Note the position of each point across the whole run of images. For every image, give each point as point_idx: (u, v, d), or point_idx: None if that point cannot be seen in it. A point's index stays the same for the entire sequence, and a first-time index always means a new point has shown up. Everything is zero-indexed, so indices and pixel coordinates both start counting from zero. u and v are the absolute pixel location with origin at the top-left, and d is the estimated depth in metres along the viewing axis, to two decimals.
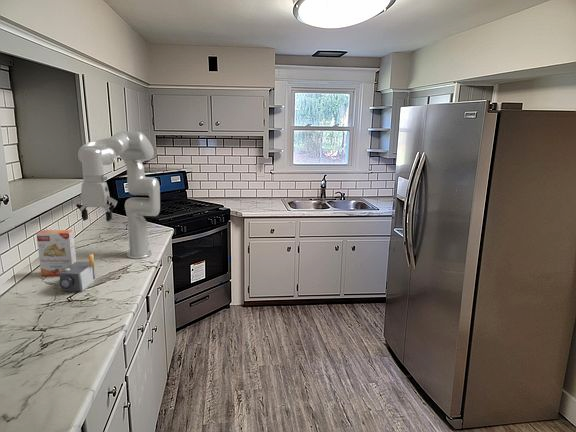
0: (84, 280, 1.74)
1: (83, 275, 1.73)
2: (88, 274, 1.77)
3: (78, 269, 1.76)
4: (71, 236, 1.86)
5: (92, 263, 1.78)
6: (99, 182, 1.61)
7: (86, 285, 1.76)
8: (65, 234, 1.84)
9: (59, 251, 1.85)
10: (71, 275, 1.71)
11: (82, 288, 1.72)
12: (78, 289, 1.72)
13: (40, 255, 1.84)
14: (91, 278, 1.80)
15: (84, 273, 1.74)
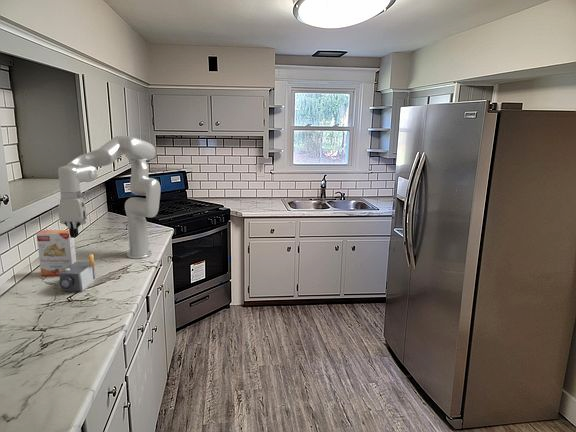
0: (84, 280, 1.74)
1: (83, 275, 1.73)
2: (88, 274, 1.77)
3: (78, 269, 1.76)
4: None
5: (92, 263, 1.78)
6: (75, 198, 1.70)
7: (86, 285, 1.76)
8: (65, 234, 1.84)
9: (59, 251, 1.85)
10: (71, 275, 1.71)
11: (82, 288, 1.72)
12: (78, 289, 1.72)
13: (40, 255, 1.84)
14: (91, 278, 1.80)
15: (84, 273, 1.74)
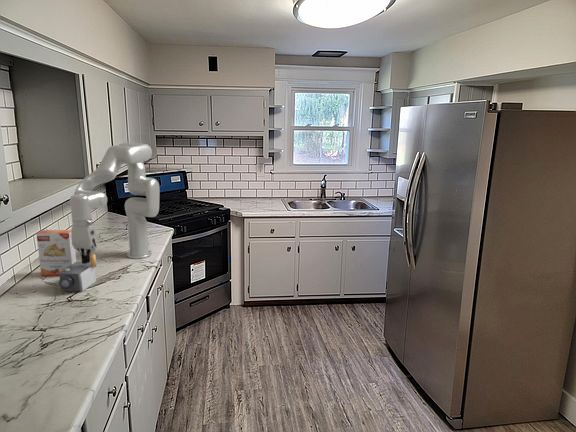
0: (85, 280, 1.74)
1: (84, 275, 1.73)
2: (89, 274, 1.77)
3: (78, 269, 1.76)
4: None
5: (94, 263, 1.78)
6: (85, 226, 1.72)
7: (87, 285, 1.76)
8: (65, 234, 1.84)
9: (59, 251, 1.85)
10: (71, 275, 1.71)
11: (82, 288, 1.72)
12: (78, 289, 1.72)
13: (40, 255, 1.84)
14: (93, 278, 1.80)
15: (85, 273, 1.74)
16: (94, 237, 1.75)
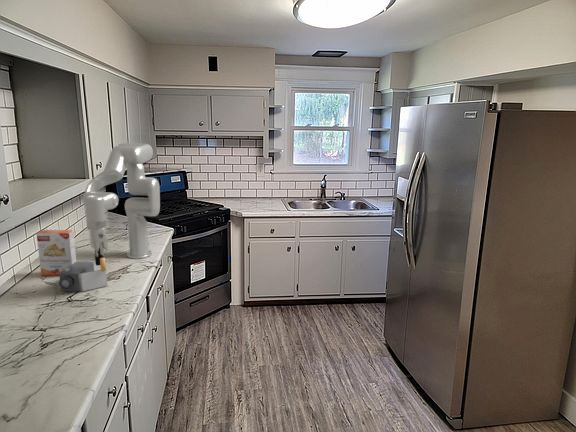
0: (87, 281, 1.73)
1: (86, 276, 1.72)
2: (96, 277, 1.75)
3: (78, 269, 1.76)
4: (71, 236, 1.86)
5: (102, 267, 1.74)
6: (93, 228, 1.69)
7: (91, 287, 1.74)
8: (65, 234, 1.84)
9: (59, 251, 1.85)
10: (71, 275, 1.71)
11: (82, 289, 1.72)
12: (78, 289, 1.72)
13: (40, 255, 1.84)
14: (102, 281, 1.77)
15: (88, 275, 1.72)
16: (103, 240, 1.71)
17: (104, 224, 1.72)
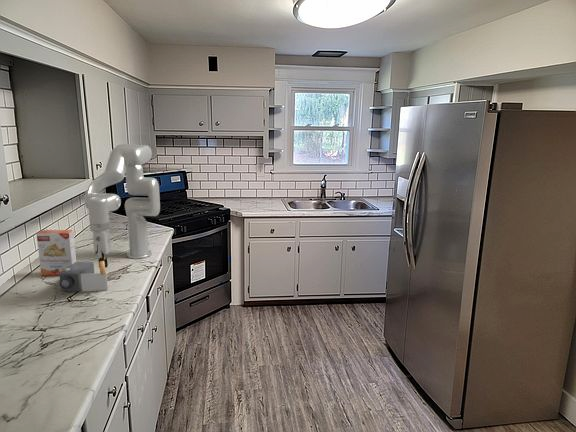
0: (87, 283, 1.71)
1: (85, 277, 1.71)
2: (96, 279, 1.72)
3: (78, 269, 1.76)
4: (71, 236, 1.86)
5: (100, 270, 1.70)
6: (93, 230, 1.67)
7: (91, 289, 1.72)
8: (65, 234, 1.84)
9: (59, 251, 1.85)
10: (71, 275, 1.71)
11: (82, 289, 1.72)
12: (78, 289, 1.72)
13: (40, 255, 1.84)
14: (102, 285, 1.73)
15: (88, 276, 1.71)
16: (100, 244, 1.67)
17: (104, 227, 1.68)
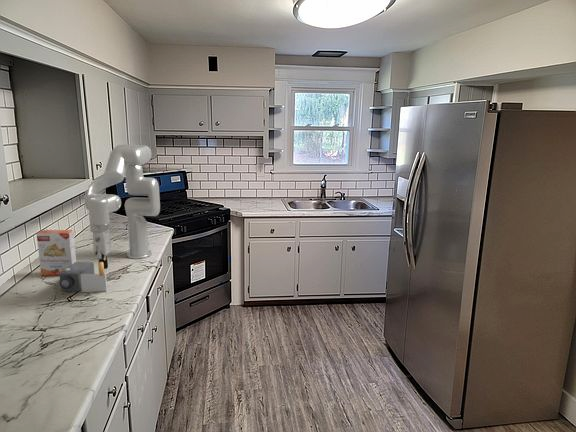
0: (86, 283, 1.71)
1: (85, 277, 1.70)
2: (95, 280, 1.71)
3: (78, 269, 1.76)
4: (71, 236, 1.86)
5: (99, 271, 1.69)
6: (93, 231, 1.66)
7: (90, 289, 1.72)
8: (65, 234, 1.84)
9: (59, 251, 1.85)
10: (71, 275, 1.71)
11: (81, 289, 1.71)
12: (78, 289, 1.72)
13: (40, 255, 1.84)
14: (101, 286, 1.72)
15: (87, 276, 1.70)
16: (100, 245, 1.66)
17: (104, 228, 1.67)
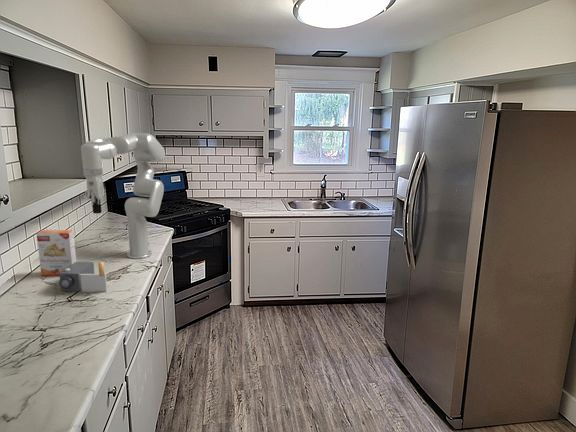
0: (86, 283, 1.71)
1: (85, 277, 1.70)
2: (95, 280, 1.71)
3: (78, 269, 1.76)
4: (71, 236, 1.86)
5: (99, 271, 1.69)
6: (86, 175, 1.74)
7: (90, 289, 1.72)
8: (65, 234, 1.84)
9: (59, 251, 1.85)
10: (71, 275, 1.71)
11: (81, 289, 1.71)
12: (78, 289, 1.72)
13: (40, 255, 1.84)
14: (101, 286, 1.72)
15: (87, 276, 1.70)
16: (93, 188, 1.74)
17: (97, 173, 1.75)
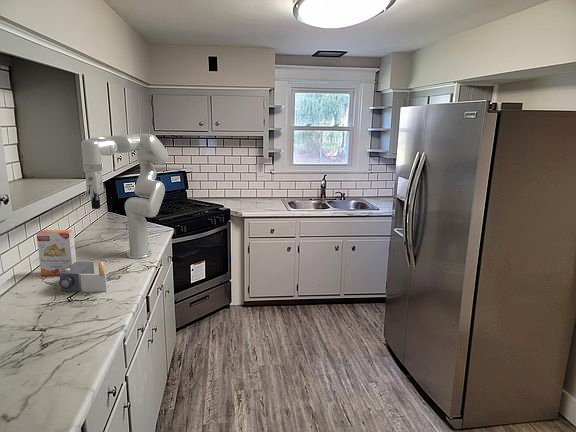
0: (86, 283, 1.71)
1: (85, 277, 1.70)
2: (95, 280, 1.71)
3: (78, 269, 1.76)
4: (71, 236, 1.86)
5: (99, 271, 1.69)
6: (86, 171, 1.76)
7: (90, 289, 1.72)
8: (65, 234, 1.84)
9: (59, 251, 1.85)
10: (71, 275, 1.71)
11: (81, 289, 1.71)
12: (78, 289, 1.72)
13: (40, 255, 1.84)
14: (101, 286, 1.72)
15: (87, 276, 1.70)
16: (92, 184, 1.76)
17: (97, 168, 1.77)
